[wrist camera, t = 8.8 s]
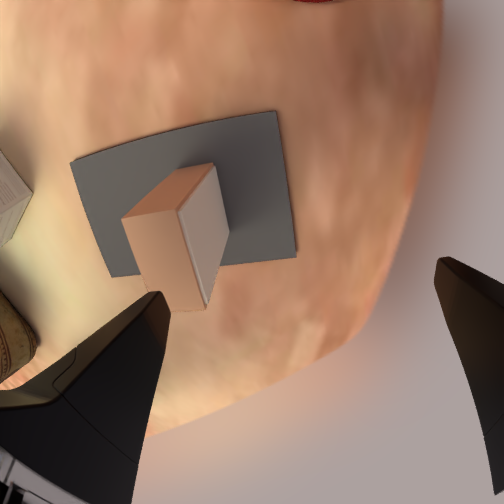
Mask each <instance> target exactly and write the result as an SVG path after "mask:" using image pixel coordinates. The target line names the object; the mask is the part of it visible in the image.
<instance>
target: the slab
mask: <svg viewBox="0 0 504 504" xmlns="http://www.w3.org/2000/svg"><path fill="white" fill-rule="evenodd" d="M121 221H122V224H123V226H124V229H125V232H126V235H127V238H128V241H129V243H130V246H131V249H132V252H133V254H134V257H135V260H136V262H137V265H138V267H139V270H140V273H141V275H142V278H143V280H144V283H145V285H146V288H147V290H148V292H150V291H161V292H162V293H163V295H164V297H165V299H166V302H167V304H168V306H169V308H170V312H186V311H202V310H206V307H207V304H208V303H209V300H210V296H211V293H212V289H213V286H214V283H215V279H216V276H217V272H218V269H219V266H220V262H221V259H222V255H223V252H224V249H225V245H226V242H227V239H228V236H229V232H230V231H229V227H228V222H227V218H226V213H225V208H224V204H223V199H222V195H221V190H220V185H219V180H218V176H217V171H216V166H214V165H213V162H212V163H206V164H201V165H196V166H191V167H185V168H180V169H176V170H175V171H173V172H172V173H171V174H170V175H169V176H168V177H166V178H165V179H164V180H163V181H162V182H161V183H160V184H158V185H157V186H156V187H155V188H154V189H153V190H152V191H151V192H149V193H148V194H147V195H146V196H145V197H144V198H143V199H142V200H141V201H140V202H138V203H137V204H136V205H135V206H134V207H133V208H132V209H131V210H130V211H129V212H128V213H127V214H126V215H125V216H124V217H122V218H121Z"/></svg>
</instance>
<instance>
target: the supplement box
mask: <svg viewBox="0 0 504 504" xmlns="http://www.w3.org/2000/svg"><path fill="white" fill-rule="evenodd" d="M31 197H32V192H31V191H30V189H29V188H28V187H27V185H26V184H25V183H24V182H23V180H22V179H21V178H20V176H19V175H18V174H17V172H16V171H15V170H14V168H13V167H12V166H11V164H10V163H9V162H8V160H7V159H6V158H5V156H4V155H3V153H2V152H1V151H0V247H2V246H3V245H4V244H5V243H6V242H8V241H9V240H10V239H11V238H12V235H13V233H14V231H15V229H16V227H17V225H18V223H19V220H20V218H21V216H22V214H23V212H24V210H25V208H26V206H27V204H28V202H29V200H30V198H31Z"/></svg>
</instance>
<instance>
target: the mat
mask: <svg viewBox="0 0 504 504" xmlns="http://www.w3.org/2000/svg"><path fill="white" fill-rule="evenodd" d="M212 162H213V165H214V166H216V171H217V176H218V180H219V185H220V190H221V195H222V199H223V204H224V208H225V213H226V218H227V222H228V227H229V231H230V232H229V236H228V239H227V242H226V245H225V249H224V252H223V255H222V259H221V262H220V266H225V265H234V264H243V263H252V262H261V261H270V260H278V259H287V258H295V257H296V249H295V241H294V233H293V225H292V217H291V209H290V202H289V194H288V187H287V180H286V173H285V166H284V160H283V153H282V146H281V140H280V134H279V128H278V121H277V115H276V111H270V112H263V113H256V114H250V115H244V116H238V117H233V118H227V119H222V120H217V121H212V122H207V123H203V124H198V125H193V126H189V127H185V128H181V129H176V130H172V131H168V132H164V133H161V134H157V135H153V136H150V137H146V138H142V139H139V140H135V141H132V142H129V143H125V144H122V145H119V146H116V147H113V148H110V149H106V150H103V151H100V152H98V153H95V154H92V155H89V156H86V157H83V158H81V159H78V160H75V161H73V162H71V163H70V166H71V169H72V173H73V176H74V179H75V182H76V185H77V189H78V192H79V195H80V198H81V201H82V204H83V206H84V209H85V212H86V215H87V218H88V220H89V223H90V226H91V229H92V231H93V234H94V236H95V239H96V241H97V244H98V247H99V249H100V251H101V254H102V256H103V259H104V261H105V263H106V266H107V268H108V270H109V273H110V275H111V277H122V276H132V275H141V273H140V270H139V267H138V265H137V262H136V260H135V257H134V254H133V252H132V249H131V246H130V243H129V241H128V238H127V235H126V232H125V229H124V226H123V224H122V221H121V218H122V217H124V216H125V215H126V214H127V213H128V212H129V211H130V210H131V209H132V208H133V207H134V206H135V205H136V204H137V203H138V202H140V201H141V200H142V199H143V198H144V197H145V196H146V195H147V194H148V193H149V192H151V191H152V190H153V189H154V188H155V187H156V186H157V185H158V184H160V183H161V182H162V181H163V180H164V179H165V178H166V177H168V176H169V175H170V174H171V173H172V172H173V171H175V170H176V169H180V168H185V167H191V166H196V165H201V164H206V163H212Z"/></svg>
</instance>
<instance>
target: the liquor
mask: <svg viewBox="0 0 504 504" xmlns="http://www.w3.org/2000/svg"><path fill="white" fill-rule="evenodd" d="M294 1H301V2H313V3H319V2H327V1H332V0H294Z"/></svg>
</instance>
